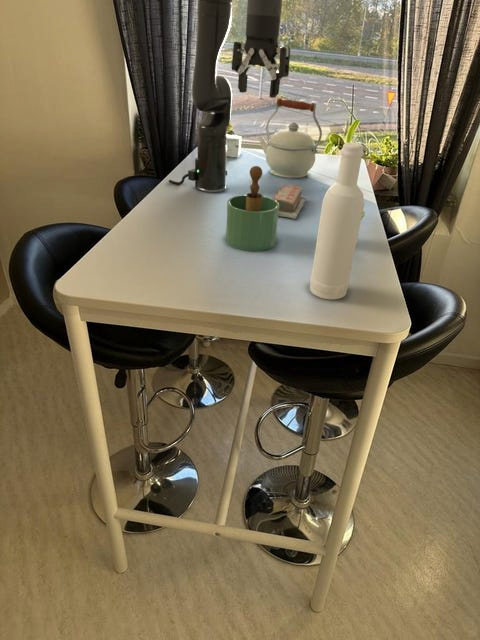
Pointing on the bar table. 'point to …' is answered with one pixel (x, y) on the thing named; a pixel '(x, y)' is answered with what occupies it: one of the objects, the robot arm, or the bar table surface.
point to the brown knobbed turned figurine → (254, 191)
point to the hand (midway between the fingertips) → (257, 94)
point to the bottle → (338, 228)
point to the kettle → (291, 145)
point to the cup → (251, 224)
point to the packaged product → (289, 201)
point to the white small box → (233, 145)
